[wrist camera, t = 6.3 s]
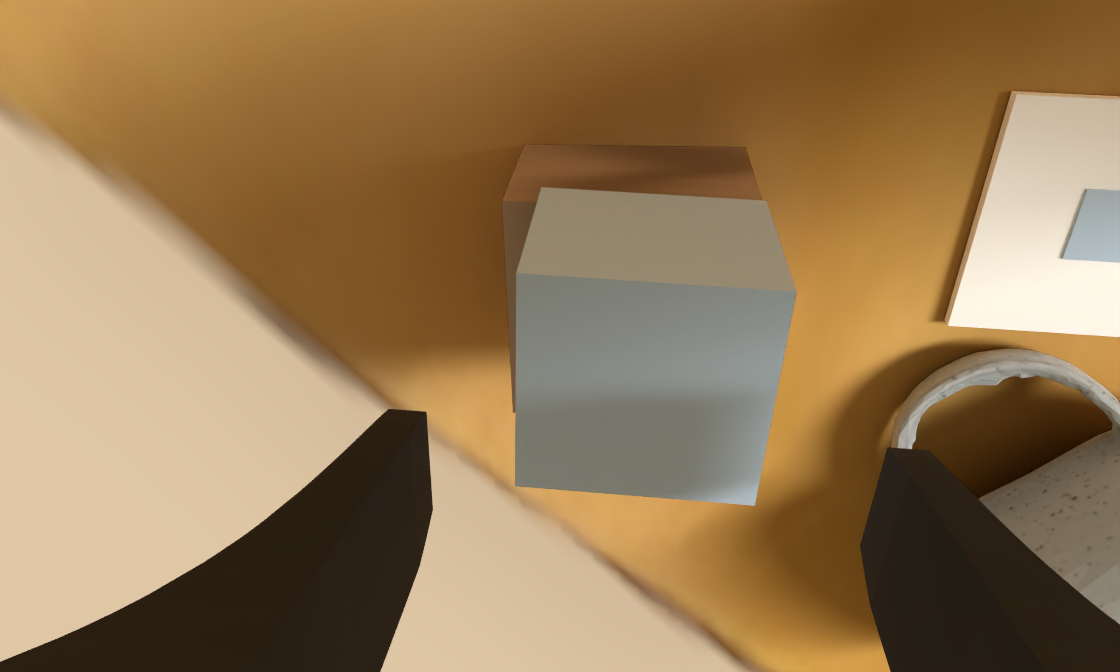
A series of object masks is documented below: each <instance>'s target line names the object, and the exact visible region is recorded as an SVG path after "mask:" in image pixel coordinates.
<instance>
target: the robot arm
mask: <svg viewBox="0 0 1120 672" xmlns="http://www.w3.org/2000/svg"><path fill="white" fill-rule="evenodd" d="M432 511H433V506H432V490H431V475H430V460H429V444H428V429H427V414H426V412H421V411H408V410H395V409H388V410H387V411H386V412H385V413H384V414H382V415H381V416H380V417H379V418H378V419H377V420H376V421H375V422H374V423H373V424H372V425H371V426H370V427H369V428H368V429H367V430H366V431H365V432H364V433H363V434H362V435H361V436H360V437H359V438H357V439H356V441H355V442H353V443H352V444H351V445H350V446H349V447H348V448H347V449H346V450H345V451H344V452H343V453H342V454H341V455H340V456H339V457H338V458H336V459H335V460H334V461H333V462H332V463H331V464H330V465H329V466H328V467H327V468H326V469H324V470H323V471H322V472H321V473H320V474H319V475H318V476H317V477H315V478H314V479H313V480H312V481H311V482H310V483H309V484H308V485H307V486H305V488H303V489H302V490H301V491H300V492H299V493H297V494H296V495H295V496H294V497H292V498H291V499H290V500H289V501H287V502H286V503H285V504H284V505H283V506H281V507H280V508H279V509H278V510H276V511H275V512H274V513H273V514H271V515H270V516H269V517H268V518H267V519H265V520H264V521H263V522H261V523H260V524H259V525H258V526H256V527H255V528H254V529H252V530H251V531H250V532H248V533H247V534H246V535H244V536H243V537H241V538H240V539H238V540H237V541H235V542H234V543H232V544H231V545H230V546H228V547H226V548H225V549H223V550H222V551H220V552H219V553H218V554H216V555H215V556H213V557H211V558H210V559H208V560H207V561H205V562H204V563H202V564H200V565H199V566H197V567H195V568H193V569H192V570H190V571H188V572H187V573H185V574H183V575H181V576H180V577H178V578H176V579H175V580H173V581H171V582H169V583H168V584H166V585H164V586H162V587H161V588H159V589H157V590H156V591H154V592H152V593H150V594H149V595H147V596H145V597H143V598H141V599H139V600H137V601H136V602H133V603H132V604H129V605H128V606H126V607H124V608H122V609H120V610H118V611H116V612H114V613H112V614H110V615H108V616H105V617H104V618H101V619H99V620H97V621H95V622H93V623H91V624H89V625H86V626H85V627H82V628H80V629H78V630H76V631H73V632H71V633H69V634H67V635H64V636H62V637H60V638H58V639H55V640H53V641H50V642H48V643H45V644H43V645H40V646H38V647H36V648H33V649H31V650H28V651H26V652H23V653H21V654H18V655H16V656H13V657H11V658H8V659H6V660H4V661H1V662H0V672H380V671H381V668H382V666H383V663H384V660H385V658H386V655H387V652H388V650H389V647H390V644H391V641H392V639H393V636H394V634H395V631H396V628H397V626H398V623H399V620H400V618H401V615H402V613H403V609H404V607H405V604H406V601H407V599H408V596H409V594H410V591H411V588H412V585H413V583H414V580H415V577H416V574H417V572H418V569H419V566H420V562H421V558H422V554H423V550H424V546H425V542H426V538H427V533H428V529H429V524H430V519H431V515H432ZM860 547H861V554H862V560H863V566H864V573H865V579H866V584H867V590H868V595H869V601H870V606H871V609H872V613H873V616H874V619H875V623H876V626H877V629H878V632H879V636H880V639H881V642H882V645H883V649H884V652H885V655H886V658H887V661H888V665H889V668H890V671H891V672H1120V624H1119V623H1117V622H1116V621H1115V620H1113V619H1112V618H1111V617H1109V616H1108V615H1107V614H1105V613H1104V612H1103V611H1102V610H1100V609H1099V608H1098V607H1097V606H1095V605H1094V604H1093V603H1092V602H1090V601H1089V600H1088V599H1087V598H1085V597H1084V596H1083V595H1082V594H1081V593H1079V592H1078V591H1077V590H1076V589H1075V588H1074V587H1073V586H1071V585H1070V584H1069V583H1068V582H1067V581H1066V580H1064V579H1063V578H1062V577H1061V576H1060V575H1059V574H1057V573H1056V572H1055V571H1054V570H1053V569H1052V568H1050V567H1049V566H1048V565H1047V564H1046V563H1045V562H1044V561H1043V560H1041V559H1040V558H1039V557H1038V556H1037V555H1036V554H1035V553H1034V552H1033V551H1032V550H1030V549H1029V548H1028V547H1027V546H1026V545H1025V544H1024V543H1023V542H1022V541H1021V540H1020V539H1019V538H1018V537H1016V536H1015V535H1014V534H1013V533H1012V532H1011V531H1010V530H1009V529H1008V528H1007V527H1006V526H1005V525H1004V524H1003V523H1002V522H1001V521H1000V520H999V519H998V518H997V517H996V516H995V515H994V514H993V513H992V512H991V511H990V510H989V509H988V508H987V507H986V506H985V505H984V504H983V503H982V502H981V501H980V500H979V499H978V498H977V497H976V496H975V495H974V494H973V493H972V492H971V491H970V490H969V489H968V488H967V487H966V486H965V485H964V484H963V483H962V482H961V481H960V480H959V479H958V478H957V477H956V476H955V475H954V474H953V473H952V472H951V471H950V470H949V469H948V468H947V467H946V466H945V465H944V464H943V463H941V462H940V461H939V460H938V459H937V458H936V457H935V456H934V455H933V454H932V453H931V452H930V451H929V450H918V449H905V448H892V447H888V448H887V452H886V455H885V459H884V463H883V466H882V470H881V473H880V477H879V480H878V484H877V488H876V491H875V495H874V498H873V502H872V505H871V509H870V513H869V516H868V520H867V523H866V527H865V530H864V534H863V538H862V541H861V545H860Z"/></svg>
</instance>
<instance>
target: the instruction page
mask: <svg viewBox="0 0 1120 672" xmlns="http://www.w3.org/2000/svg"><path fill="white" fill-rule="evenodd" d="M945 322H946V323H947V325H948V326H961V327H976V328H992V329H1007V330H1022V331H1037V332H1052V333H1068V334H1083V335H1098V336H1113V337H1120V96H1103V95H1083V94H1062V93H1041V92H1021V91H1012V92H1011V95H1010V99H1009V102H1008V105H1007V109H1006V112H1005V116H1004V119H1003V123H1002V126H1001V129H1000V133H999V136H998V140H997V143H996V146H995V150H994V153H993V157H992V160H991V163H990V167H989V170H988V174H987V177H986V180H985V184H984V187H983V191H982V194H981V197H980V201H979V204H978V208H977V211H976V214H975V218H974V221H973V225H972V228H971V231H970V235H969V238H968V242H967V245H966V248H965V252H964V255H963V259H962V262H961V266H960V269H959V272H958V276H957V279H956V283H955V286H954V289H953V293H952V296H951V300H950V303H949V306H948V310H947V313H946V317H945Z"/></svg>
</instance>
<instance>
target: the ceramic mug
mask: <svg viewBox="0 0 1120 672" xmlns="http://www.w3.org/2000/svg"><path fill="white" fill-rule="evenodd" d="M1013 376H1017V377H1019V378H1027V377H1033V376H1041V377H1044V378H1048V379H1050V380H1053V381H1056V382H1058V383H1061V384H1063V385H1065V386H1068V387H1071V388H1074V389H1078V390H1079V391H1080V392H1081V393H1082V394H1083V395H1084V396H1085V397H1087V398H1088V399H1089V400H1090V401H1091V402H1093V403H1094V404H1095V405H1096V406H1098V407H1099V408H1100V409H1101V410H1102V411H1104V413H1105V414H1106V415H1107V417H1108V418H1109V419H1110V421H1111V422H1112V425H1113V426H1112V430H1110V431H1107V432H1105V433H1102V434H1100V435H1098V436H1096V437H1094V438H1092V439H1090V440H1088V441H1086V442H1085V443H1083V444H1081V445H1079V446H1077V447H1075V448H1074V449H1072V450H1070V451H1068V452H1066V453H1065V454H1063V455H1061V456H1059V457H1057V458H1056V459H1054V460H1052V461H1050V462H1049V463H1047V464H1045V465H1043V466H1042V467H1040V468H1038V469H1036V470H1034V471H1033V472H1031V473H1029V474H1027V475H1025V476H1023V477H1021V478H1019V479H1017V480H1015V481H1013V482H1011V483H1009V484H1007V485H1004V486H1002V487H1000V488H998V489H996V490H994V491H992V492H990V493H988V494H986V495H984V496H982V497H981V498H979V500H980V501H981V502H982V503H983V504H984V505H985V506H986V507H987V508H988V509H989V510H990V511H991V512H992V513H993V514H994V515H995V516H996V517H997V518H998V519H999V520H1000V521H1001V522H1002V523H1003V524H1004V525H1005V526H1006V527H1007V528H1008V529H1009V530H1010V531H1011V532H1012V533H1013V534H1014V535H1015V536H1016V537H1018V538H1019V539H1020V540H1021V541H1022V542H1023V543H1024V544H1025V545H1026V546H1027V547H1028V548H1029V549H1030V550H1032V551H1033V552H1034V553H1035V554H1036V555H1037V556H1038V557H1039V558H1040V559H1041V560H1043V561H1044V562H1045V563H1046V564H1047V565H1048V566H1049V567H1050V568H1052V569H1053V570H1054V571H1055V572H1056V573H1057V574H1059V575H1060V576H1061V577H1062V578H1063V579H1064V580H1066V581H1067V582H1068V583H1069V584H1070V585H1071V586H1073V587H1074V588H1075V589H1076V590H1077V591H1078V592H1079V593H1081V594H1082V595H1083V596H1084V597H1085V598H1087V599H1088V600H1089V601H1090V602H1092V603H1093V604H1094V605H1095V606H1097V607H1098V608H1099V609H1100V610H1102V611H1103V612H1104V613H1105V614H1107V615H1108V616H1109V617H1111V618H1112V619H1113V620H1115V621H1116V622H1117V623H1119V624H1120V402H1119V401H1118V400H1117V398H1116V397H1115V396H1113V395H1112V394H1111V393H1110V392H1109V391H1108V390H1107V389H1106V388H1105V387H1103V386H1102V385H1101V384H1099V383H1098V382H1097V381H1095V380H1094V379H1092V378H1091V377H1090V376H1088V375H1087V374H1086V373H1084V372H1083V371H1081V370H1080V369H1079V368H1077V367H1076V366H1074V365H1072V364H1070V363H1068V362H1066V361H1064V360H1061V359H1059V358H1056V357H1054V356H1051V355H1049V354H1044V353H1040V352H1036V351H1033V350H1025V349H999V350H990V351H983V352H977V353H973V354H971V355H968V356H965V357H962V358H960V359H958V360H956V361H954V362H951V363H949V364H947V365H946V366H944V367H942V368H940V369H938V370H937V371H935V372H934V373H932V374H931V375H930V376H928V377H927V378H926V379H925V380H923V381H922V382H921V383H920V384H918V385H917V386H916V387H915V388H914V389H913V390H912V392H911V393H910V395H909V396H908V397H907V399H906V400H905V401H904V403H903V404H902V406H901V408H900V410H899V412H898V414H897V416H896V418H895V422H894V427H893V431H892V440H891V447H892V448H905V449H912V444H913V443H914V441H915V440H916V430H917V426H918V423H919V421H920V419H921V416H922V414H923V413H924V412H925V411H926V410H927V408H928V407H929V406H931V405H933V404H934V403H936V402H938V401H940V400H942V399H944V398H946V397H948V396H950V395H952V394H954V393H955V392H957V391H959V390H961V389H963V388H965V387H969V386H972V385H997V384H999V383H1000V382H1001V381H1002V380H1003V379H1006V378H1008V377H1013Z"/></svg>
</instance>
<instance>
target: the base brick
mask: <svg viewBox="0 0 1120 672" xmlns="http://www.w3.org/2000/svg"><path fill="white" fill-rule="evenodd" d="M541 187H547V188H564V189H580V190H597V191H614V192H630V193H647V194H663V195H680V196H696V197H713V198H729V199H746V200H762V199H761V195H760V192H759V189H758V186H757V183H756V179H755V176H754V173H753V170H752V167H751V163H750V160H749V157H748V154H747V151H746V147H694V146H618V145H541V144H525V145H524V147H523V150H522V152H521V155H520V157H519V160H518V162H517V165H516V167H515V170H514V172H513V175H512V177H511V180H510V182H509V185H508V187H507V190H506V192H505V195H504V197H503V200H502V212H503V231H504V250H505V269H506V288H507V307H508V326H509V345H510V364H511V383H512V402H513V412H516V272H517V269H518V266H519V262H520V259H521V255H522V252H523V248H524V245H525V242H526V238H527V235H528V231H529V228H530V225H531V221H532V218H533V214H534V211H535V207H536V204H537V201H538V197H539V194H540V190H541Z"/></svg>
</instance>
